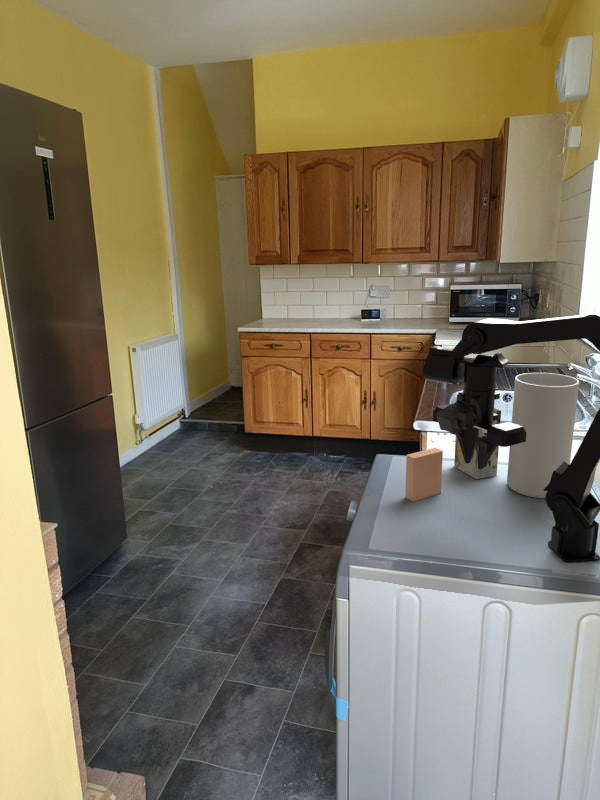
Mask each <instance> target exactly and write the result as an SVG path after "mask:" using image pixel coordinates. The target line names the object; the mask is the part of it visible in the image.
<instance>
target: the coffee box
mask: <svg viewBox="0 0 600 800" xmlns="http://www.w3.org/2000/svg"><path fill="white" fill-rule="evenodd" d="M494 413H495V414H498V420H495V421H493V423H494V424H501V417H502V410H500V409H499V408H498V409H497V408H495V407H494ZM480 436H482V430H479V429H478V434H477V437H480ZM454 441H455V443H454V467H455V466H456V467H457V469H459V470H460V471H462V472H464V473H465V474H467V475H468V476H470V477H472V478H473V479H475V480H479V479H484V478H488V477H490V478H491V477H494V476H497V474H498V463H499V462H498V461H499V447H500V446H497V448H496V449H495V450H494V452H493V454H492V455H491V457H490V458H489V460H488V462H487V463H486V465H485V467H484V468H483V469H478V444H477V442H476V443H475V447H474V452H473V456H472V459H471V462H470V463H465V461H464V457H463V454H462V451H461V447H460V444H459V441H458V439H457V436H456V435H455V440H454ZM456 467H455V468H456Z"/></svg>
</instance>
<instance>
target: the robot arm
mask: <svg viewBox="0 0 600 800" xmlns="http://www.w3.org/2000/svg"><path fill="white" fill-rule="evenodd" d="M584 339H585V340H587V341H588V342H590V343H591V344H592V345H593V346H594V347H595V349H596V350H597V351H599V352H600V311H594V312H591V313H588V314H580V315H569V316H561V317H551V318H541V319H532V320H531V319H530V320H522V321H518V320H511V319H503V318H502V319H501V318H491V317H489V318H485V319H481V320H478V321H474V322H469V324H467V325H466V326H465V328H464V329H463V331H462V334H461V339H460V340H459V342H458V343H457V344H456V345H455V346H454V348H450V347H443V346H439V345H433V346H430V347H429V349H428V351H429V353H428V355H427V356H426V358H425V361H424V364H423V366H422V371H423V372H422V373H423V378H424V379H425V380H426V381H430V382H437V383H445V384H450V385H457V384H458V383H459V382H460V381H461V380H463V388H462V391H459V392H457V393H458V394H457V395H456V400H455V402H453V403H449V404H444V405H439V406H436V407H435V409H434V410H433V411H432V421H433V422H436V423H438V424H439V425H438V426H439V429H440V430H441V431H445V432H448V433H450V435H454V436H455V437H456V436H457V439H458V441H459V444H460V447H461V451H462V454H463V457H464V461H465V463H470V462H471V459H472V456H473V452H474V447H475V443H476V442H477V444H478V469H483V468H484V467H485V465H486V463H487V462H488V460H489V458H490V457H491V455H492V454H493V452H494V450H495V449H496V448H497V446H499V447H502V448H507V447H510V446H511V445H515V444H519V443H523V442H526V435H527V431H526V429H525V428H524V427H523V426H520V425H517V424H514V423H512V421H506V422H505V421H504V422H500V424H494V423H493V421H495V420H498V414H495V413H494V408H495V402H496V400H500V398H501V393H500V392H496V388H497V386H496V385H497V384H496V383H497V373H498V371H497V370H498V369H499V368H500V369H502V368H504V367H506V366H508V365H509V364H510V360H509V359H507V358H506V357H505V356H504V355H503V353H502V351H499V352H496V353H494V354H493V355H489V354H485V353H489V352H494V351H497V350H501V349H504V348H507V347H510V346H514V345H522V344H523V345H524V344H535V343H545V342H546V343H547V342H560V341H562V342H563V341H570V340H571V341H572V340H573V341H574V340H584ZM472 354H473V355H476V357H467V356H469V355H472ZM478 429H479V430H482V436H480V437H477V434H478ZM575 452H576V453H575V454H574V457H573V458H572V460H571V461H570V465H569V464H567V463H566V462H565V461H563V462H562V463H561V464H560V465H559V466H558V467H557V468H556V469H555V470H554V471H553V473H552V476H551V480H550V483H549V484H548V485H547V486H546V487H545V488H544V491H547V493H546V496H545V498H544V501H545V504H546V506H547V508H549V510H550V511H551V512H552V515H553V518H554V521H555V522H554V525H552V526H551V527H552V528H551V536H550V540H549V541H548V542H547V545H548V546H549V547H550V548H551V549H552V550H553V551H554V552H555V553H556V555H558V556H559V558H560V559H561V560H563V562H565V563H575V562H592V561H600V555H599V554H598V553H597V552H596V551H597V543H598V536H599V528H600V523H599V522H597V521H596V520H595V519H596V517H597V516H598V514H599V513H600V502H599V501H598V499H597V498H596V497H595V496H594V495H593V493H591V492H592V487H593V484H594V481H595V475H596V470H597V467H598V465H599V463H600V407H599V409H598V410H597V412H596V414H595V416H594V418H593V419H592V422H591V424H590V426H589V428H588V429H587V432H586V433H585V434H584V436H583V440H581V442H580V445H579V447H578V448H577V451H575Z"/></svg>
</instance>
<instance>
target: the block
mask: <svg viewBox="0 0 600 800" xmlns="http://www.w3.org/2000/svg"><path fill="white" fill-rule="evenodd" d="M443 453H444V450H441V449H440V448H436V447H433V448H429V449H426V450H420V451H417V452H416V451H415V452H413V453H409V454H406V461H405V462H406V465H405V495H404V497H405V499H407V500H409V501H411V502H416V501H420V500H422V499H427V498H430V497H433V496H437V495H440V494H441V493H442V477H443V475H442V474H443V458H444V457H443Z"/></svg>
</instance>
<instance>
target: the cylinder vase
mask: <svg viewBox="0 0 600 800" xmlns="http://www.w3.org/2000/svg"><path fill="white" fill-rule="evenodd" d="M514 377H515V379H514V390H513V402H512V412H511V413H512V415H511V423H514V424H517V425H520V426H523V427H524V428H525V429H526V431H527V435H526V442H523V443H519V444H515V445H511V446H509V449H508V462H507V463H508V464H507V475H506V476H507V477H506V482H507V485H508V487H509V488H510V489H511V490H512V491H514V492H516V493H517V494H520V495H522V496H526V497H531V498H536V499H545V496H546V493H547V491H544V488H545V487H546V486H547V485H548V484H549V483H550V480H551V476H552V473H553V471H554V470H555V469H556V468H557V467H558V466H559V465H560V464H561V463H562V462H563V461H565V462H566V463H567V464H569V465H570V464H571V459H572V458H571V457H572V449H573V441H574V432H575V431H574V429H575V422H576V421H575V420H576V412H577V405H578V395H579V388H580V386H579V385H580V380H578V378H575V377H573V376H570V375H566V374H560V373H551V372H526V373H520V374H518V375H516V376H514Z"/></svg>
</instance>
